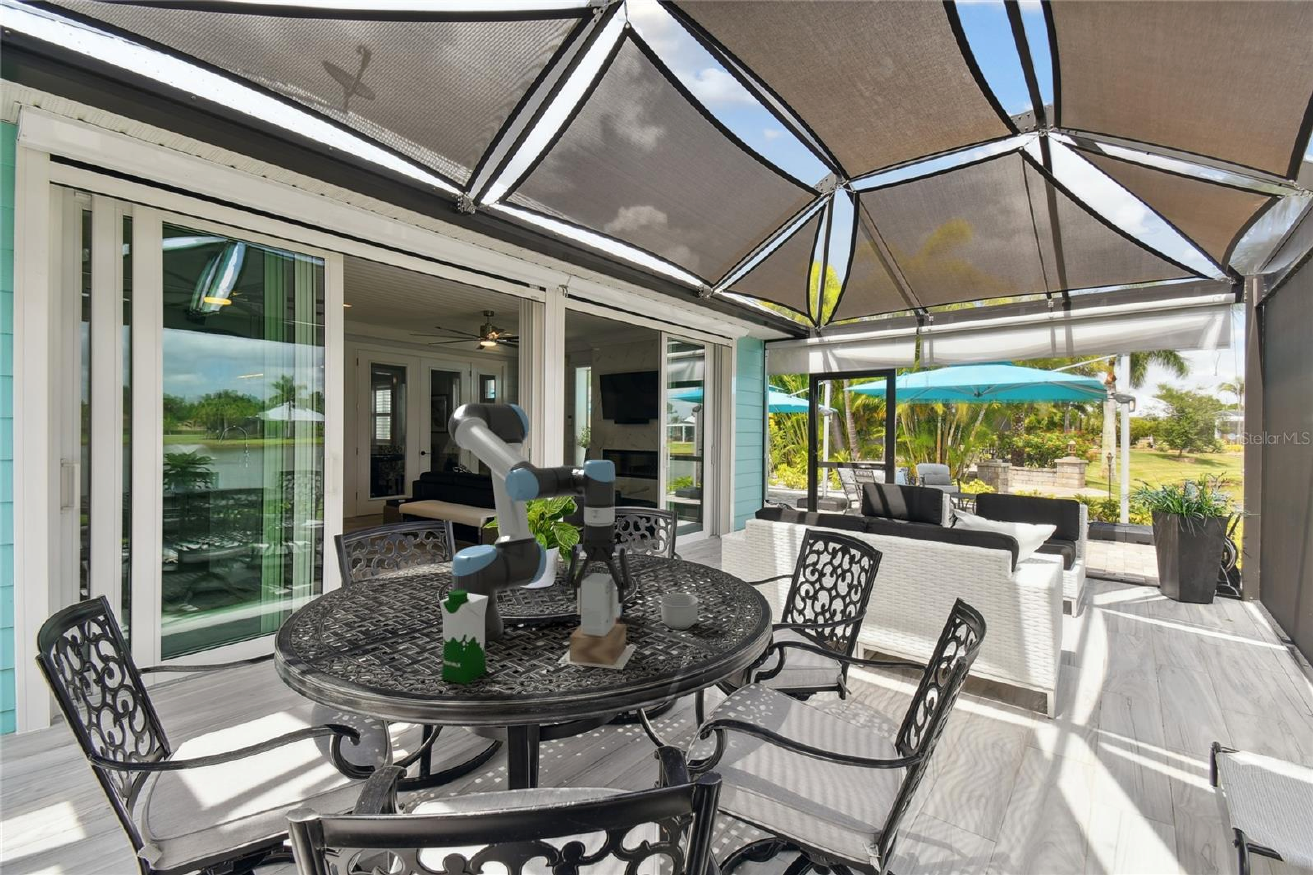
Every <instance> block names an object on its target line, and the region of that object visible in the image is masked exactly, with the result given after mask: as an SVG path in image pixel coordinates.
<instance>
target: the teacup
mask: <svg viewBox="0 0 1313 875" xmlns="http://www.w3.org/2000/svg"><path fill="white" fill-rule="evenodd" d="M658 600H659V601H660V606H659V604H658ZM652 605H653V607H654V609H655V610H656V611H657V612H658V613H659V614H660V615H661V620H662V622H663V623H664V625H666V626H667V627H668V628H670V629H672V630H674V631H675V630H677V631H682V630H683V631H684V630H688V629H689V628H691V627H692V626H693V625H694V624H696V622H697V619H698V614H699V613H698V610H699V609H698V607H699V599H698V597H696V595H693V594H690V593H682V592H680V593H679V592H677V593H676V592H675V593H669V594H666V595H664V596H661V595H656V596H655V597H654V598H653V599H652Z"/></svg>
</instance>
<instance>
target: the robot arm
mask: <svg viewBox="0 0 1313 875" xmlns="http://www.w3.org/2000/svg"><path fill="white" fill-rule="evenodd" d="M447 426H448V427H447V428H448V432H449V435H450V437H451V439H452V441H453V442H454V443H455V444H456V445H457V446H458V447H460V448H461V449H463V450H469V451H470V452H471V453H472V454H473V455H475V457H476V458H478V459H479V460H480V461H481V462H482V463H484V464H485V465H486V466H487V467H488V468H489V469H490V471H491V472H490V473H491V480H492V487H493V495H494V504H495V511H496V512H495V514H496V519H497V527H498V538H497V539H496V541H494V545H492V544H491V545H490V544H482V545H474V546H469V547H466V548H463V549H461V550H459V551H458V552H456V553H455V554H454V556H453V558H452V564H451V565H452V566H451V576H452V577H451V578H452V579H451V584H452V585H451V586H452V588H451V591H453V590H466V591H467V593H471V594H477V595H483V596H489V597H488V602H487V607H486V612H485V643H486V642H490V641H493V640H495V639H497V638H499V637H500V636H502V635H503V634H504V621H503V617H502V615H501V612H500V610H499V606H498V592H502V591H506V590H511V589H515V588H519V587H525V586H527V587H528V586H529V585H531V584H534V583H537V582H539V581H540V580H541V579H542V577H543V576H544V574H545V573H546V569H547V563H548V562H547V561H548V557H547V553H546V549H545V548H544V546H543V544H541V543H540V542H537V540H536V539H537V538H536V536H535V535H534V534H533V533H532V532H530V527H529V519H528V518H529V517H528V510H527V504H526V502H530V501H535V500H543V499H544V500H546V499H553V498H562V497H563V498H564V497H572V496H574V497H575V496H576V497H582V498H584V499H583V500H584V501H583V522H584V523H585V524H584V525H583V542H582V544H581V543H580V544H578V543H575V544H573V545H571V547H570V550H571V559H570V563H569V568H568V571H567V575H566V576H567V577H566V580H565V583H566V584H567V585H570V586H572V587H573V599H574V600H575V601H576V603H577V604H576V606H577V607H576V615H579V616H581V581H583V580H584V579H585V576H586V574H587V573H588V570H589V569H590V566H591V564H592V562H600V563H604V564H605V566H606V567H607V569H608V571H609V574H611V576H612V578H613V580H614V582H615V584H616V587H617V589H616V590H615V602H614V618H618V617H619V615H620V603H621V604H622V605H623V603H624V602H625V590H628V589H630V588H631V587H632V585H633V582H632V577H631V572H630V566H629V563H628V557H627V556H628V554H627V553H628V546H618V545H617V544H616V542H615V537H616V536H615V533H616V532H615V529H616V528H615V527H616V526H615V524H614V522H615V521H616V514H615V513H616V512H615V510H616V508H615V507H616V506H615V505H616V503H615V501H616V479H617V477H616V468H615V463H614V462H613V461H612V460H608V459H588V460H586V461H585V462H584V465H583V466H578V465H574V464H567V465H566V464H563V465H559V466H554V467H553V466H552V467H537V466H535V465H534V464H532V463H531V462H530V461H529V460H528V459H526V457H524V456H523V455H522V454H520V451H521V449H523V447H524V441H525V440H526V439H528V435H529V433H528V432H529V431H530V423H529V418H528V415H527V413H526V412H525V411H524V409H522V408H521V406H519V405H517V404H512V403H507V402H506V403H505V402H503V403H502V402H501V403H500V402H499V403H497V402H492V403H491V402H490V403H489V402H468V403H466V404H465V403H464V404H462V405H460V406H458V408H456V409H455V410H454V411H453V412H452V414H451V415H450V418H449V421H448V425H447ZM582 551H583V552H584V553H585V555H586V557H585V559H584V561H583V564H582V566H581V567H580V570H579V571H578V574H577V576H576V573H577V570H578V564H579V559H580V556H581V555H580V554H581V553H582ZM615 552H616V555H617V556H619V557H618V559H619V565H620V570H621V574H620V572H619V569H618V567H617V565H616V562H615V559H614V556H613V554H614V553H615ZM621 575H622V576H621Z"/></svg>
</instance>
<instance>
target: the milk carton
mask: <svg viewBox="0 0 1313 875" xmlns="http://www.w3.org/2000/svg"><path fill="white" fill-rule="evenodd" d="M488 597H489V596H483V595H477V594H471V593H467V591H466V590H453V591H452V590H451V591H449V592H448V597H447V598H444V599H442V600H440V601H438V602H439V606H440V610H441V611H440V612H441V616H442V640H443V641H442V667H441V668H442V670H441V680H445V681H449V682H453V683H457V684H461V685H467V684H469V683H471V682H473V681H474V680H476V679H478V678H479V677H481V676H483V675H485V674H486V673H487V660H486V659H487V658H486V642H485V612H486V607H487V602H488Z"/></svg>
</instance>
